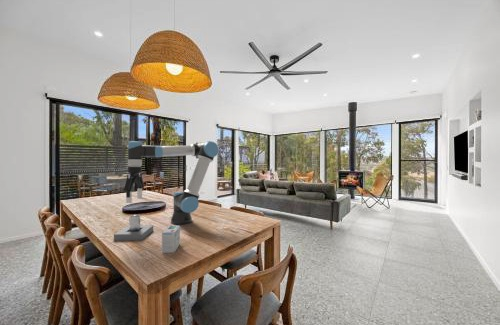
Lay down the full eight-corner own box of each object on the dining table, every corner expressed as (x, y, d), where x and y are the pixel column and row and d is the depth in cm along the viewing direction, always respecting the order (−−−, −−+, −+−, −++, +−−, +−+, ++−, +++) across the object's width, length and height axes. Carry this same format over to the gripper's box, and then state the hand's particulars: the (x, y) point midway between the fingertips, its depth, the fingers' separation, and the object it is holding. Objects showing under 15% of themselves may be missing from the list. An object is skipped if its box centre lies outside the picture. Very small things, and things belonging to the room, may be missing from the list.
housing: (153, 231, 137) (153, 225, 137) (142, 240, 121) (142, 234, 121) (128, 231, 136) (128, 225, 136) (113, 241, 120) (113, 234, 120)
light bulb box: (167, 244, 116) (168, 225, 116) (180, 244, 117) (180, 225, 117) (161, 253, 106) (161, 232, 106) (174, 252, 106) (175, 231, 106)
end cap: (141, 233, 132) (142, 214, 131) (137, 236, 126) (137, 216, 125) (132, 233, 131) (132, 214, 131) (127, 237, 125) (127, 217, 125)
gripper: (138, 165, 140) (137, 196, 140) (117, 166, 115) (116, 204, 115) (149, 165, 140) (149, 196, 141) (130, 167, 116) (130, 204, 116)
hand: (134, 200), depth 128 cm, fingers open, 13 cm apart
